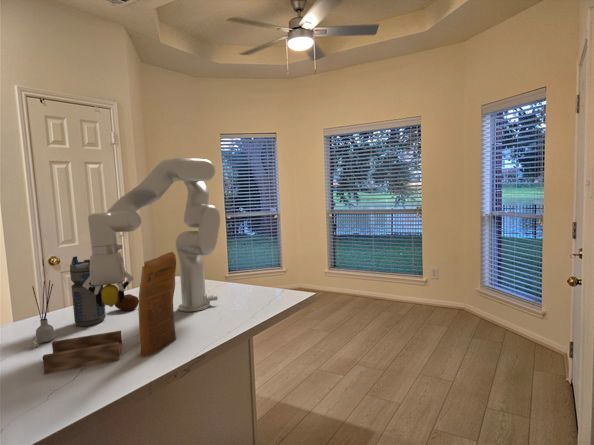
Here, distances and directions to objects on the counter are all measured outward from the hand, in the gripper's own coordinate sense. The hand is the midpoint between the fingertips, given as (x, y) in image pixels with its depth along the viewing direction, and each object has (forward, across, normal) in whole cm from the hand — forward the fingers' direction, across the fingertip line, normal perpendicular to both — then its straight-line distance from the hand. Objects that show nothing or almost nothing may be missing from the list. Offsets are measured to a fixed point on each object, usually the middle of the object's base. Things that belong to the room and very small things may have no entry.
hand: (111, 302), depth 121 cm
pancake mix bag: (+11, -14, +18) cm, 25 cm away
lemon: (+2, 0, 0) cm, 2 cm away
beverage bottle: (+11, +9, -18) cm, 23 cm away
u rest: (+11, +6, +17) cm, 21 cm away
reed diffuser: (+11, +20, -3) cm, 23 cm away
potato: (+12, -2, -29) cm, 32 cm away
